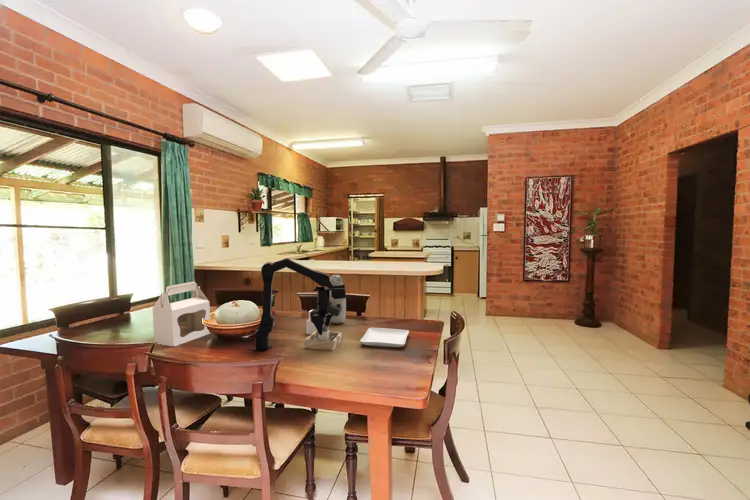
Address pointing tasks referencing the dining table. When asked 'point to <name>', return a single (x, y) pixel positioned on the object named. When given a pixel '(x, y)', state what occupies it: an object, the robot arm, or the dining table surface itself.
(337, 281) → the tall grey vase
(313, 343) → the socket box
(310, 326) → the medicine bottle
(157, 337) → the gable box
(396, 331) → the salad plate
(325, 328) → the grey rectangular prism
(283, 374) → the dining table surface
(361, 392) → the dining table surface
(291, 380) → the dining table surface
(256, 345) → the robot arm
